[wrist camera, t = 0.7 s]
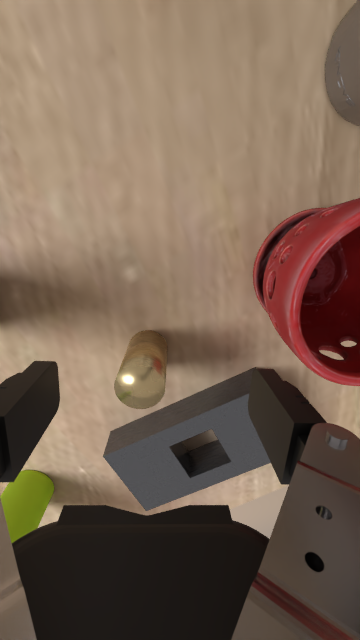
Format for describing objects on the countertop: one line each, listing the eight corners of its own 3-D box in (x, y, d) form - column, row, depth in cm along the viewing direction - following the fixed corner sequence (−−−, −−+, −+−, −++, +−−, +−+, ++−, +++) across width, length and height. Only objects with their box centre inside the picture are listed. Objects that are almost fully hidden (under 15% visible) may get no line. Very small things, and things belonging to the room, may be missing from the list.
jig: (255, 367, 33) (266, 386, 29) (284, 427, 36) (297, 452, 32) (110, 431, 35) (103, 456, 32) (149, 482, 38) (146, 511, 35)
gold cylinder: (155, 323, 31) (149, 357, 23) (174, 355, 32) (173, 396, 24) (121, 340, 31) (104, 378, 24) (141, 371, 33) (130, 416, 25)
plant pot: (223, 305, 30) (252, 355, 19) (282, 181, 26) (365, 150, 15) (325, 345, 32) (408, 413, 21) (395, 235, 28) (546, 245, 17)
